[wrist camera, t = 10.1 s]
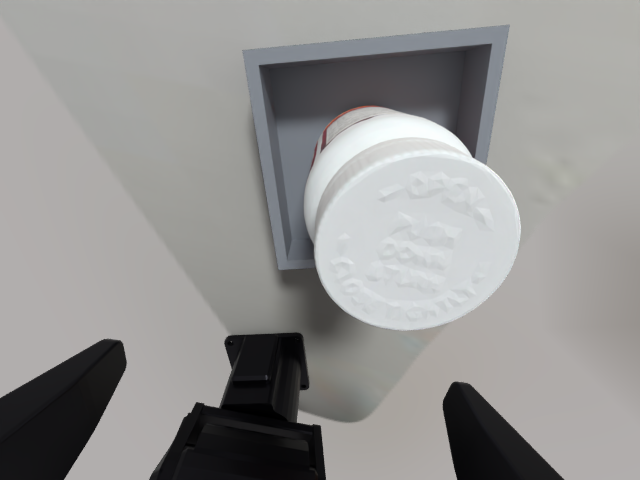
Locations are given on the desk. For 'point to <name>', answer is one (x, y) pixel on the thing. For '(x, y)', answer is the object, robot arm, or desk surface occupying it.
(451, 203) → the pill bottle
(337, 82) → the slate tray
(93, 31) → the desk surface
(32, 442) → the robot arm
